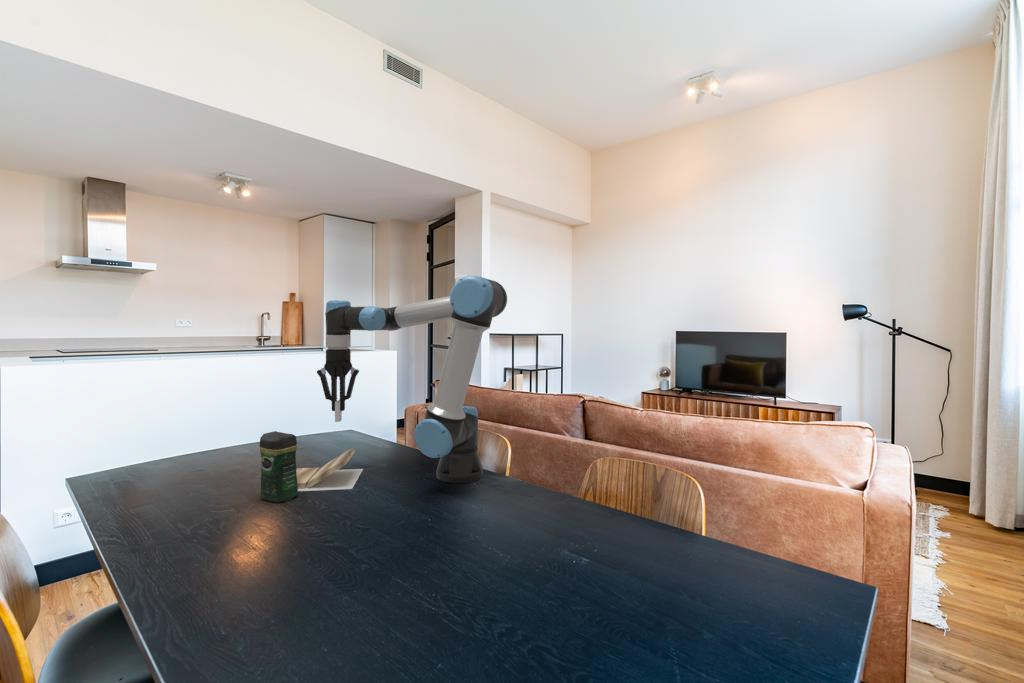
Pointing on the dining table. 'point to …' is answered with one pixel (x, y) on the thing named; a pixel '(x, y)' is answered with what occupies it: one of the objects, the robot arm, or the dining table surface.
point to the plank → (331, 467)
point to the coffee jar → (278, 466)
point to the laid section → (304, 476)
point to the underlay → (337, 480)
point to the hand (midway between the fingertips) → (338, 420)
